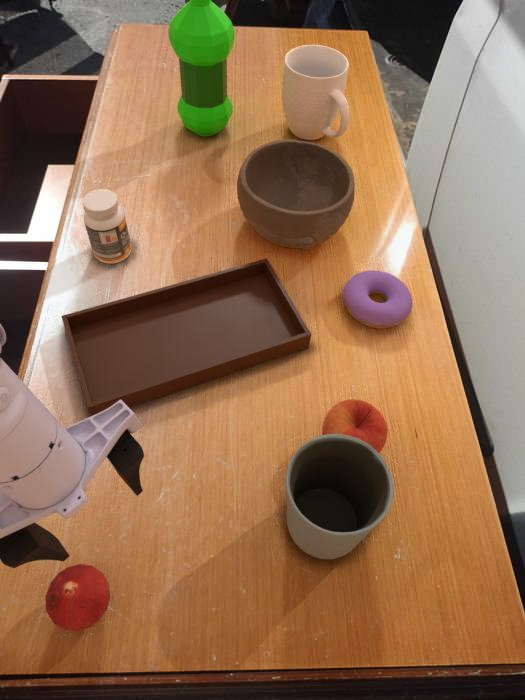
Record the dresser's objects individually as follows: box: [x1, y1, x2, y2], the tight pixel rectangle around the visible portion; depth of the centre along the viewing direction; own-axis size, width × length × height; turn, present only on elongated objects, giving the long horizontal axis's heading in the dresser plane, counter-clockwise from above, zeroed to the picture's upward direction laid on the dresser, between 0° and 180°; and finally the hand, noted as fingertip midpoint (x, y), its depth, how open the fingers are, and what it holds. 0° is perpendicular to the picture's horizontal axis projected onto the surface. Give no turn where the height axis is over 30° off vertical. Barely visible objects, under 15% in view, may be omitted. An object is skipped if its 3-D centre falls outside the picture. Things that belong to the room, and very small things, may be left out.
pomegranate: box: [45, 563, 111, 632], centre depth 53 cm, size 6×6×8 cm
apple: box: [321, 399, 388, 454], centre depth 64 cm, size 7×7×8 cm
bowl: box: [236, 139, 356, 250], centre depth 85 cm, size 17×18×10 cm
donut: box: [342, 269, 413, 329], centre depth 79 cm, size 10×9×5 cm
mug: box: [281, 44, 351, 141], centre depth 98 cm, size 15×11×13 cm
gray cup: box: [284, 434, 395, 560], centre depth 57 cm, size 10×10×12 cm
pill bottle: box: [82, 188, 132, 264], centre depth 80 cm, size 6×6×10 cm
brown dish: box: [60, 257, 312, 417], centre depth 74 cm, size 30×15×3 cm, turn 113°
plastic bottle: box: [168, 0, 236, 137], centre depth 93 cm, size 10×10×25 cm
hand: (98, 517), depth 47 cm, fingers open, 7 cm apart
